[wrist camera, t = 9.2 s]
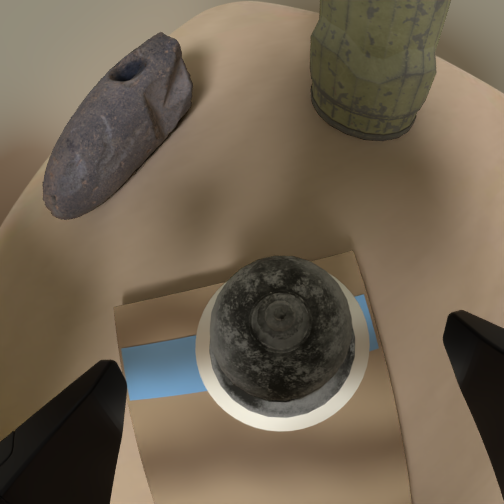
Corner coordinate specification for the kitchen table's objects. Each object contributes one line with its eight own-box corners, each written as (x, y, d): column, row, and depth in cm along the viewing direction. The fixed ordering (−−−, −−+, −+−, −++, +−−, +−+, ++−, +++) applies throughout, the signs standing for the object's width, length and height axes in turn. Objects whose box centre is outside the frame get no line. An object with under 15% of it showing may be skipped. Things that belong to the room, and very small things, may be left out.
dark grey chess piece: (348, 302, 16) (461, 171, 5) (329, 414, 14) (428, 515, 3) (237, 284, 17) (152, 130, 6) (214, 393, 15) (64, 441, 4)
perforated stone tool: (94, 249, 20) (31, 202, 13) (57, 216, 21) (1, 170, 15) (221, 99, 23) (204, 29, 17) (174, 84, 25) (151, 23, 18)
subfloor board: (410, 546, 11) (416, 554, 10) (195, 585, 11) (191, 593, 10) (347, 248, 18) (350, 241, 17) (120, 302, 18) (111, 298, 17)
